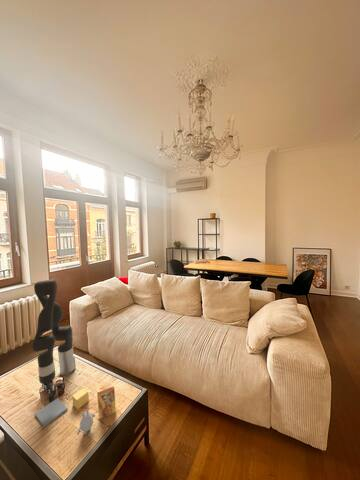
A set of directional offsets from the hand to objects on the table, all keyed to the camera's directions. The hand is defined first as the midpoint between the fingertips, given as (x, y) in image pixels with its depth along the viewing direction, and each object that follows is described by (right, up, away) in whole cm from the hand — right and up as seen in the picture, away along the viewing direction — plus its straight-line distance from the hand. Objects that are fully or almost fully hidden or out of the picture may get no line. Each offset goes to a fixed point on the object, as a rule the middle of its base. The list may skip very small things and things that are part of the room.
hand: (49, 398), depth 114 cm
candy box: (+33, -8, 0) cm, 34 cm away
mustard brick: (+14, -8, +7) cm, 18 cm away
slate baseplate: (0, -9, +1) cm, 9 cm away
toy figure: (+26, -9, -10) cm, 29 cm away
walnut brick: (0, -1, 0) cm, 1 cm away
